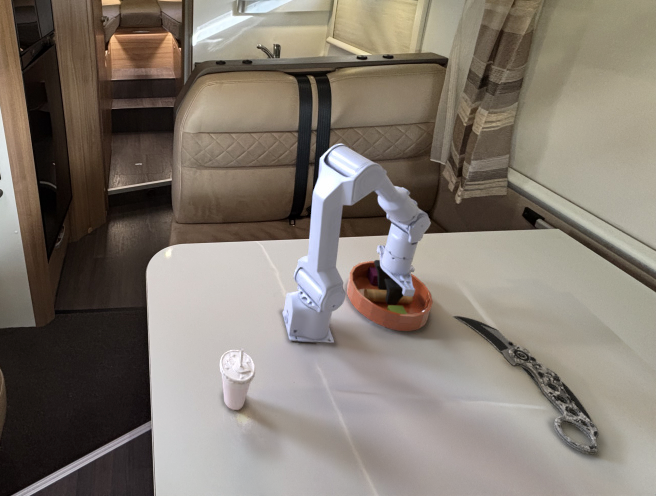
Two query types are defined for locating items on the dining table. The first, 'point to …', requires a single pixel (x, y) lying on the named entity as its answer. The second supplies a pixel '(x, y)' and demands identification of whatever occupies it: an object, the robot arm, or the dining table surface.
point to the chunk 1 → (372, 276)
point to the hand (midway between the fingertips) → (387, 296)
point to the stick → (383, 296)
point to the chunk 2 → (396, 309)
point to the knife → (543, 385)
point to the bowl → (378, 310)
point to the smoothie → (236, 377)
